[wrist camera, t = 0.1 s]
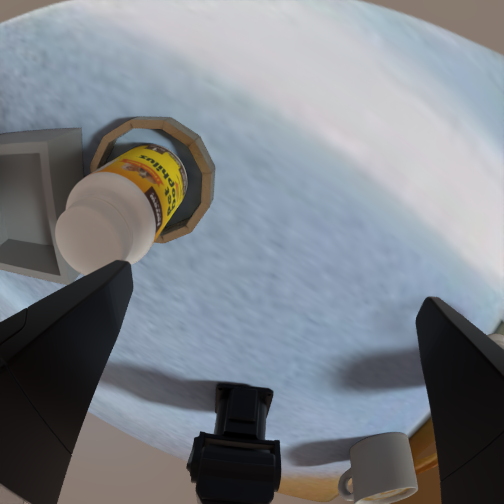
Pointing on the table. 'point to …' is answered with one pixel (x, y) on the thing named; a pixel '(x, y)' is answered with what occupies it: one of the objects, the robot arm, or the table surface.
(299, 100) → the table surface
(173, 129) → the stud collar
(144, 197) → the supplement bottle
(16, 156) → the bin
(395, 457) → the coffee mug
